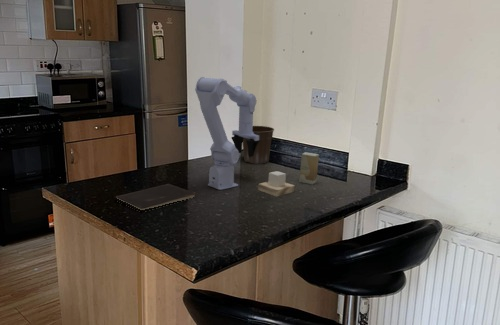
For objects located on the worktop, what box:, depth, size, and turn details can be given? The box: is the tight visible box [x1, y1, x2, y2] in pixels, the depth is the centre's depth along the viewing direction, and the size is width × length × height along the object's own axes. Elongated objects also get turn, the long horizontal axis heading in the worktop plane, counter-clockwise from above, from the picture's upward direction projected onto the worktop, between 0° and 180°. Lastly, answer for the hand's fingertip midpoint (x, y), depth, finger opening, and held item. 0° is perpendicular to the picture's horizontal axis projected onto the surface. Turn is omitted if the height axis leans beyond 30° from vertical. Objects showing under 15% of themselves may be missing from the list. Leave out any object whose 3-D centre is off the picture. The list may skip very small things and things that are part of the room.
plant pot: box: [242, 125, 275, 165], centre depth 216 cm, size 16×16×16 cm
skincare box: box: [298, 152, 320, 185], centre depth 184 cm, size 6×4×12 cm
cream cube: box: [267, 170, 287, 187], centre depth 172 cm, size 5×5×5 cm
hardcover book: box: [114, 183, 196, 210], centre depth 159 cm, size 16×23×2 cm
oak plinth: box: [257, 181, 296, 197], centre depth 173 cm, size 10×10×3 cm
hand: (244, 154), depth 187 cm, fingers open, 7 cm apart
